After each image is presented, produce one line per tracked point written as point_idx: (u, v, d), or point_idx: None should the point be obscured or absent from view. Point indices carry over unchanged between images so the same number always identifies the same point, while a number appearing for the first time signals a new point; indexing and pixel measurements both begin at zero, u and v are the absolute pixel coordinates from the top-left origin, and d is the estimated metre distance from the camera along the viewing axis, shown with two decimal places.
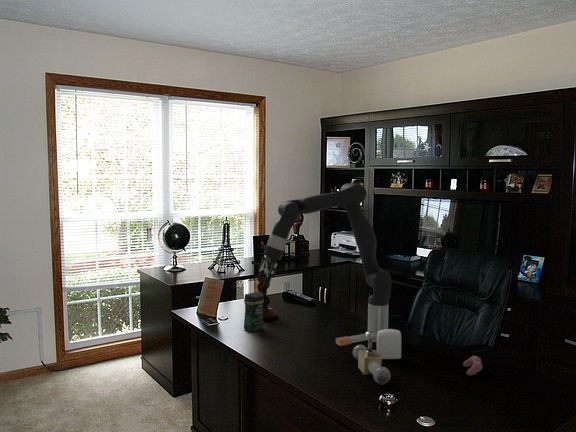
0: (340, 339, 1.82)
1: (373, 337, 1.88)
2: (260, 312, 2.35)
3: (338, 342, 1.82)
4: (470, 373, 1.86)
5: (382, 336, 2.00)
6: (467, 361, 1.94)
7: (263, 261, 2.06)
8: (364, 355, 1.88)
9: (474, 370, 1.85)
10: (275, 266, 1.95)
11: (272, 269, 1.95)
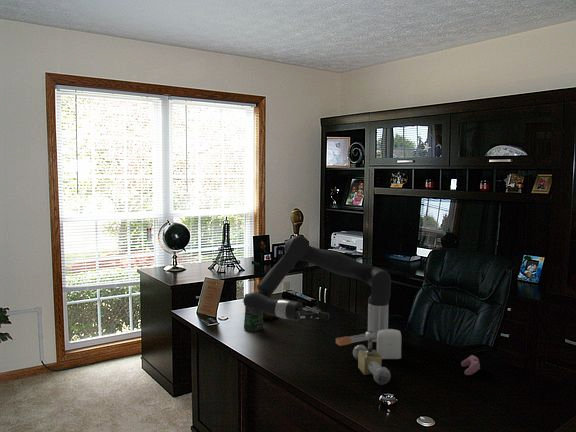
0: (340, 339, 1.82)
1: (373, 337, 1.88)
2: None
3: (338, 342, 1.82)
4: (468, 373, 1.86)
5: (382, 336, 2.00)
6: (465, 361, 1.94)
7: None
8: (364, 355, 1.88)
9: (472, 370, 1.85)
10: (304, 316, 1.84)
11: (308, 318, 1.84)
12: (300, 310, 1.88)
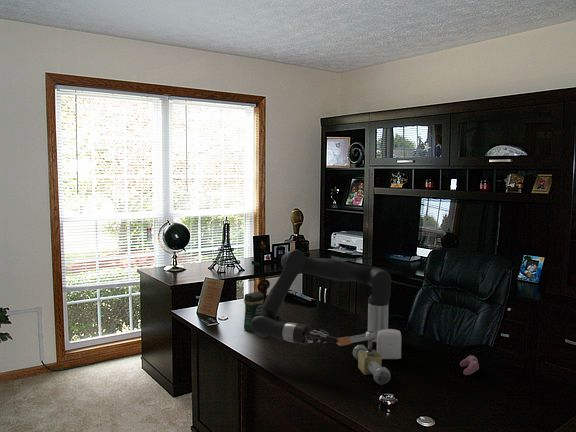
0: (340, 339, 1.82)
1: (373, 337, 1.88)
2: (260, 312, 2.35)
3: (338, 342, 1.82)
4: (467, 373, 1.86)
5: (382, 336, 2.00)
6: (464, 361, 1.94)
7: None
8: (364, 355, 1.88)
9: (471, 370, 1.85)
10: (311, 341, 1.83)
11: (315, 343, 1.83)
12: (307, 334, 1.88)
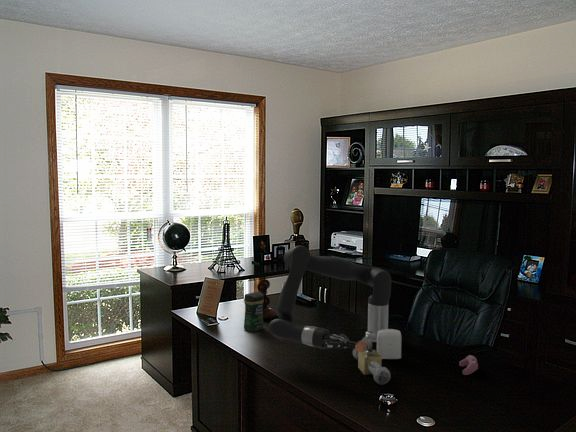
0: (360, 345, 1.76)
1: (374, 336, 1.89)
2: (260, 312, 2.35)
3: (360, 349, 1.75)
4: (466, 373, 1.86)
5: (382, 336, 2.00)
6: (463, 361, 1.94)
7: None
8: (364, 355, 1.88)
9: (470, 370, 1.86)
10: (331, 345, 1.78)
11: (335, 348, 1.78)
12: (327, 338, 1.83)
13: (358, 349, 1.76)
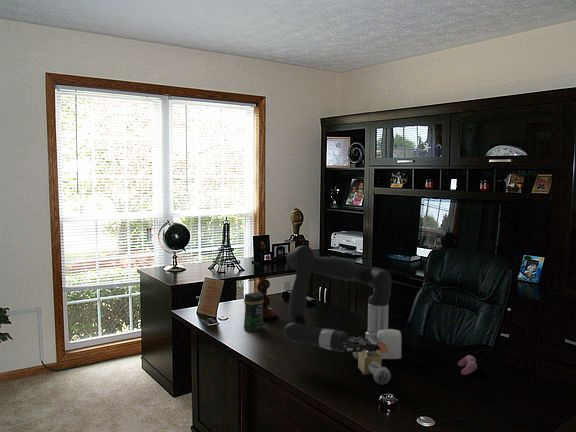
0: (384, 346, 1.75)
1: None
2: (260, 312, 2.35)
3: (385, 350, 1.74)
4: (464, 373, 1.86)
5: (382, 336, 2.00)
6: (462, 361, 1.94)
7: None
8: (364, 355, 1.88)
9: (469, 370, 1.86)
10: (351, 348, 1.75)
11: (355, 350, 1.76)
12: (346, 341, 1.80)
13: (383, 350, 1.74)
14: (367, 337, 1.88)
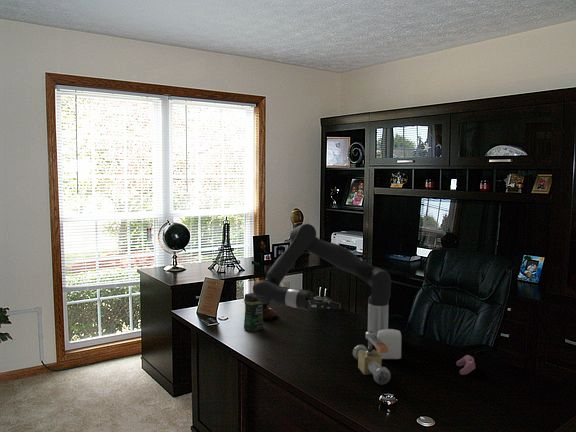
0: (384, 346, 1.75)
1: None
2: (260, 312, 2.35)
3: (385, 350, 1.74)
4: (463, 373, 1.86)
5: (382, 336, 2.00)
6: (460, 361, 1.94)
7: None
8: (364, 355, 1.88)
9: (467, 370, 1.86)
10: (315, 305, 1.81)
11: (319, 307, 1.82)
12: (311, 299, 1.86)
13: (383, 350, 1.74)
14: (367, 337, 1.88)
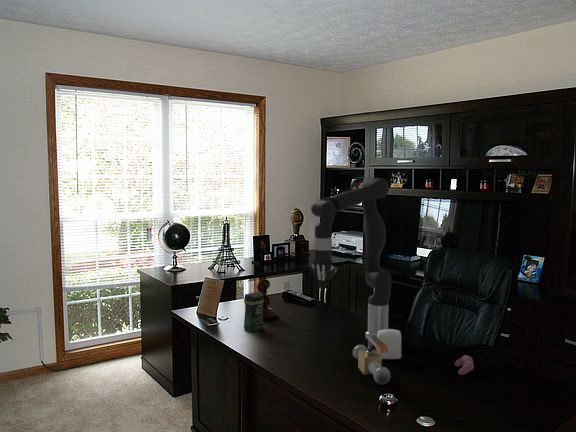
0: (384, 346, 1.75)
1: None
2: (260, 312, 2.35)
3: (385, 350, 1.74)
4: (461, 373, 1.86)
5: (382, 336, 2.00)
6: (459, 361, 1.94)
7: (313, 268, 2.03)
8: (364, 355, 1.88)
9: (466, 370, 1.86)
10: (334, 271, 2.00)
11: (331, 274, 1.99)
12: None
13: (383, 350, 1.74)
14: (367, 337, 1.88)
